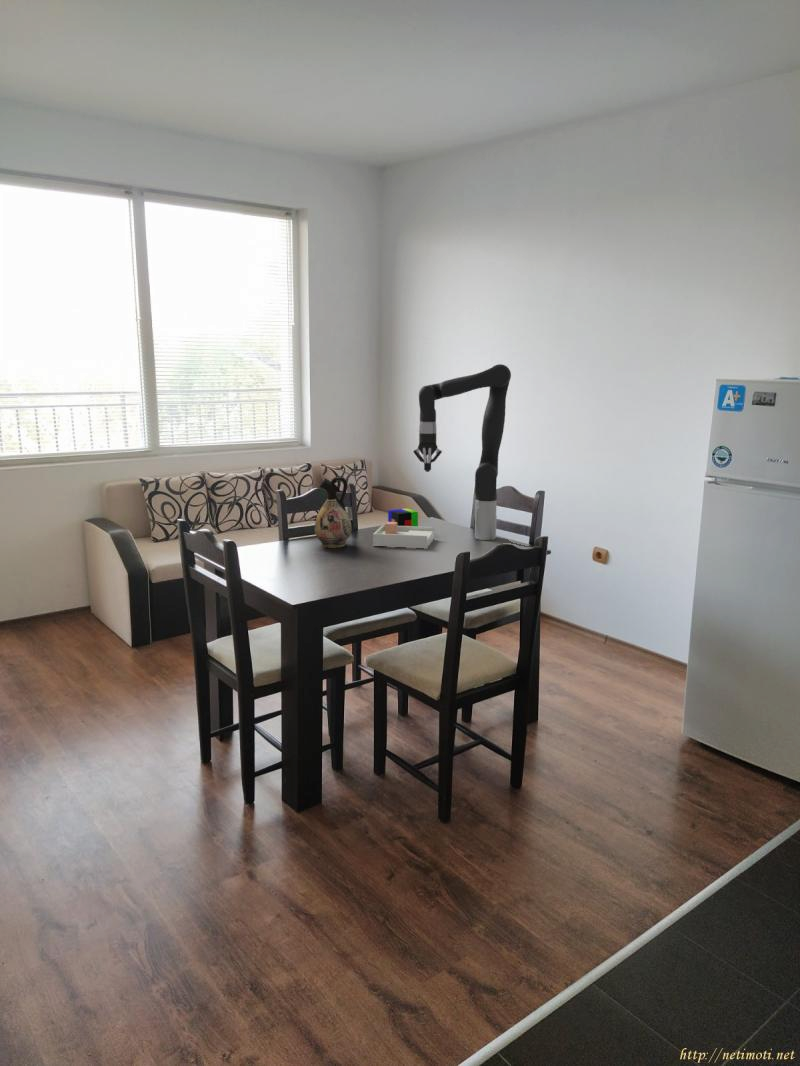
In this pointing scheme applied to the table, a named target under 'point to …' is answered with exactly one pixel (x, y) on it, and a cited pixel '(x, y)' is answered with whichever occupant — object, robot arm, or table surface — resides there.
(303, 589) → the table surface
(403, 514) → the puzzle toy
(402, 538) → the box
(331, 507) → the ceramic jug
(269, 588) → the table surface
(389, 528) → the block
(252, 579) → the table surface
